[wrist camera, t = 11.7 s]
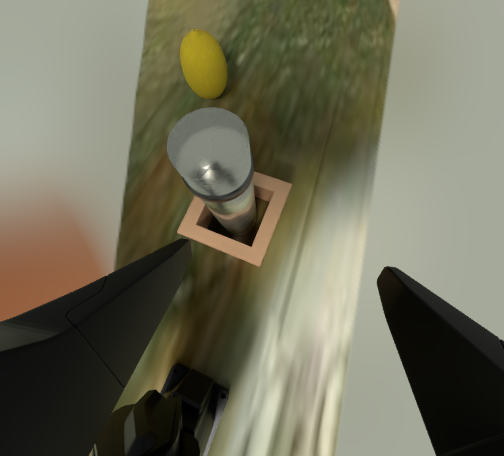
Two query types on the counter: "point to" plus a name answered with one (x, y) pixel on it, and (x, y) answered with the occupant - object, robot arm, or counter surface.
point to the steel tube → (216, 165)
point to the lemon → (203, 64)
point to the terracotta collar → (197, 230)
